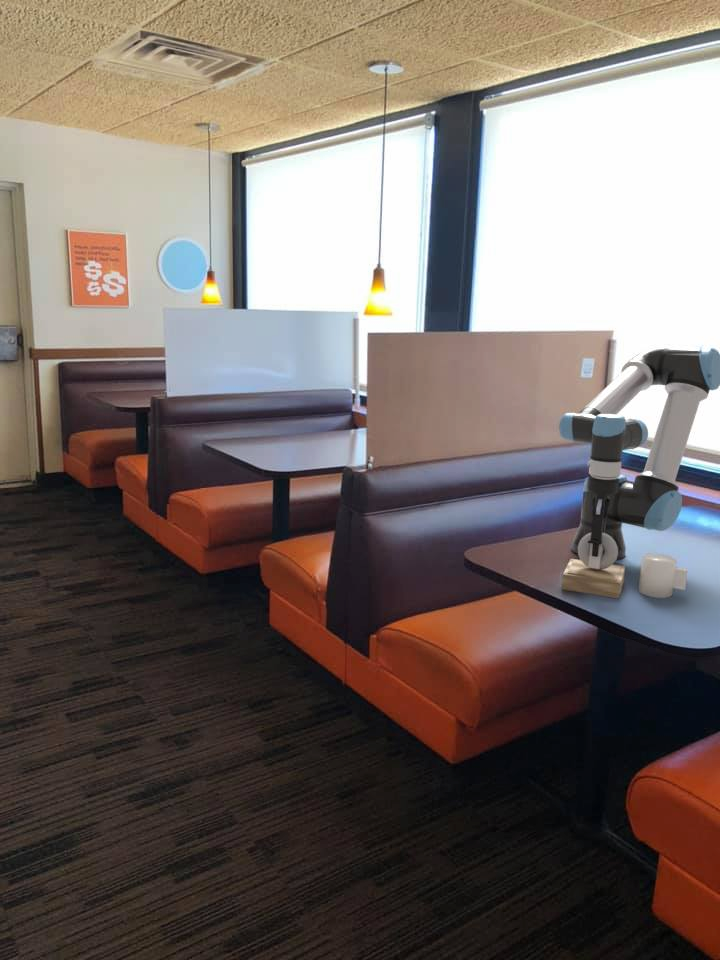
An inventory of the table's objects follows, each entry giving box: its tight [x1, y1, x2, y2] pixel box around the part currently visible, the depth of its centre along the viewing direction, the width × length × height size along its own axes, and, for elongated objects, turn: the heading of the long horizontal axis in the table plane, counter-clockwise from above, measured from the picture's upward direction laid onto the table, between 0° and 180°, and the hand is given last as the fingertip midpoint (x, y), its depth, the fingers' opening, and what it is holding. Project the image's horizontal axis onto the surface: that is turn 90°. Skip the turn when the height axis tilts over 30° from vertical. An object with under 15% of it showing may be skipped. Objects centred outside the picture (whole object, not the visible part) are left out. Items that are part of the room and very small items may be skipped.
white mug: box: [638, 552, 688, 599], centre depth 192 cm, size 8×11×9 cm
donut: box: [577, 533, 618, 570], centre depth 195 cm, size 10×3×10 cm, turn 67°
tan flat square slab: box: [561, 558, 626, 599], centre depth 197 cm, size 14×14×4 cm
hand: (594, 565), depth 196 cm, fingers closed on donut, 3 cm apart
